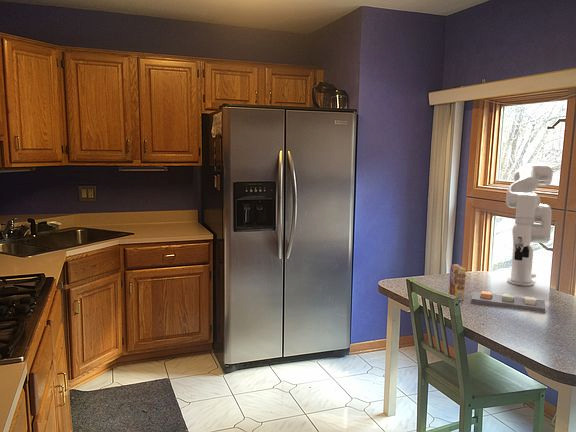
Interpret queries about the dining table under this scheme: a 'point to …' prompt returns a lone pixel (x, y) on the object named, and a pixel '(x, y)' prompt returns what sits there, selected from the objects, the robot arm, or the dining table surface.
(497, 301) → the button panel
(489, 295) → the orange button
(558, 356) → the dining table surface
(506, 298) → the sage button
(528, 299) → the cream button
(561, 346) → the dining table surface
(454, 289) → the candy box
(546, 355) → the dining table surface
